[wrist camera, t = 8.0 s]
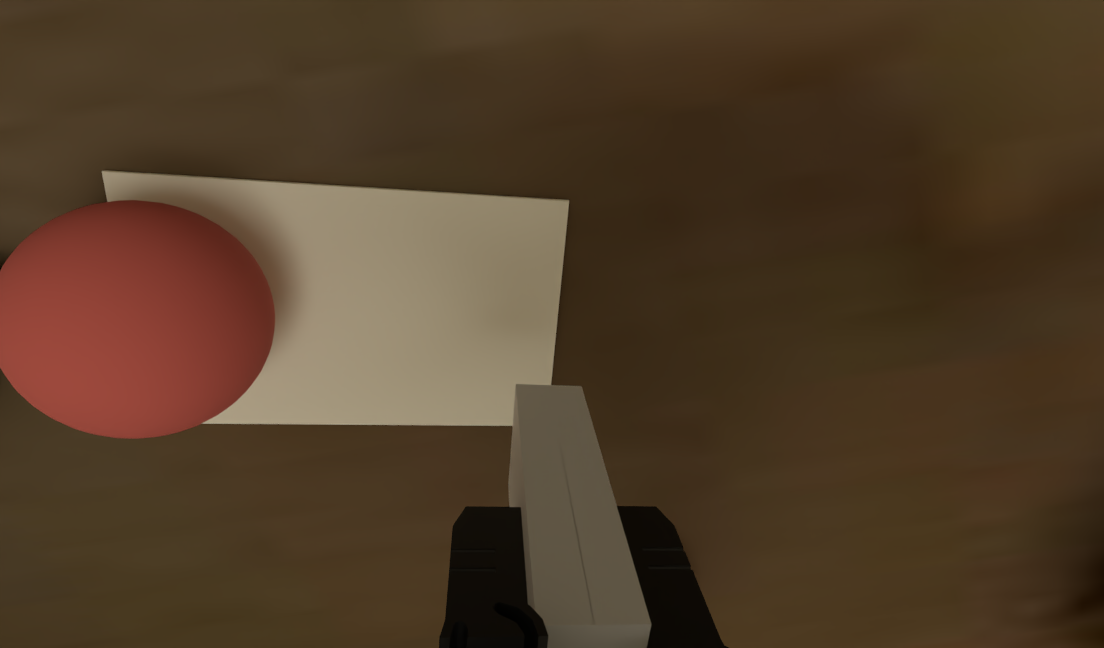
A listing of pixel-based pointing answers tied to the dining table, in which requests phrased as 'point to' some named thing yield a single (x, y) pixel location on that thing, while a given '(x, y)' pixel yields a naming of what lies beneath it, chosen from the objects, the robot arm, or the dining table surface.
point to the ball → (133, 319)
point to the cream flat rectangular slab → (386, 296)
